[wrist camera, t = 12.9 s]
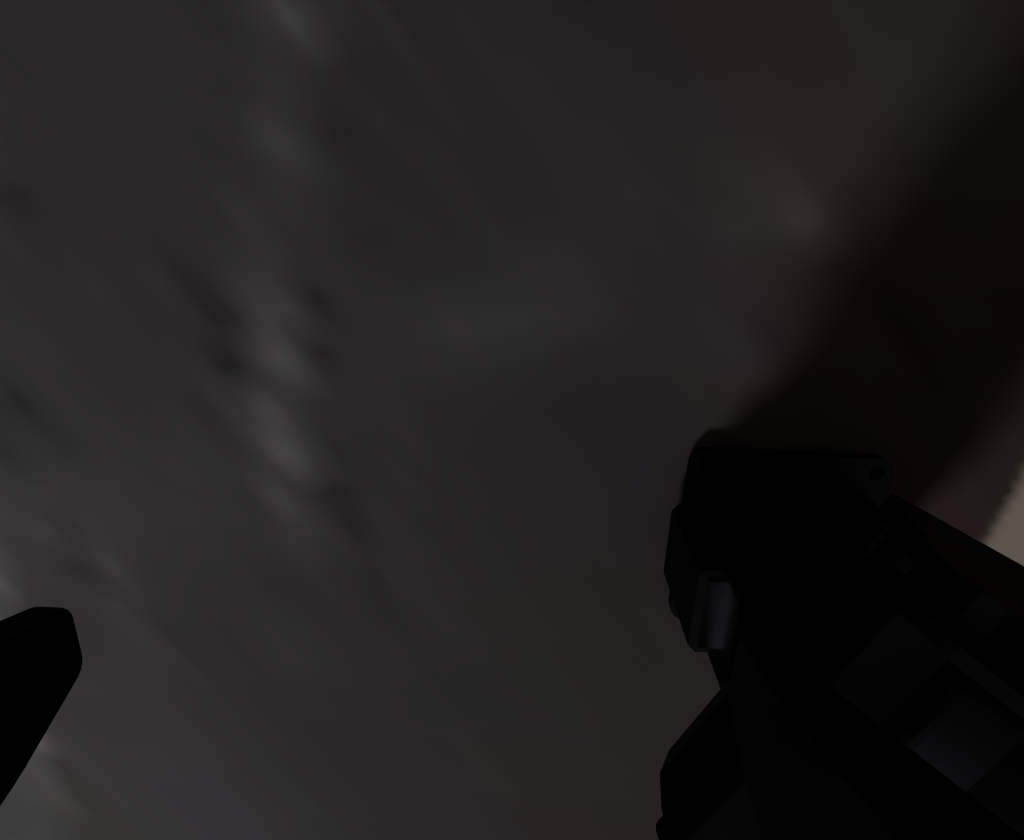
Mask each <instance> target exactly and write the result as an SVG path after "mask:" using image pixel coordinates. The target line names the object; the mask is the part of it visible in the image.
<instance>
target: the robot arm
mask: <svg viewBox="0 0 1024 840" xmlns="http://www.w3.org/2000/svg"><path fill="white" fill-rule="evenodd" d="M705 458H709V459H711V463H710V465H708V466H707V467H703V468H702V467H699V463H700V461H701V460H702V459H705ZM876 466H879V470H878V471H877V473H875V474H874V475H869V472H870V470H871V469H872V468H874V467H876ZM892 475H893V468H892V466H891V464H890V463H889V462H888V461H886V460H885V459H884V458H883V457H881V456H879V455H875V454H856V453H835V452H814V451H792V450H771V449H749V448H728V447H706V446H705V447H699V448H697V449H695V450H694V451H693V452H692V453H691V454H690V456H689V459H688V465H687V473H686V480H685V487H684V494H683V501H682V505H677V506H676V507H675V508H674V509H673V510H672V513H671V520H670V528H669V535H668V542H667V550H666V557H665V565H664V574H665V577H666V580H667V583H668V586H669V589H670V594H669V606H670V609H671V612H672V613H673V615H674V616H676V617H677V618H679V619H680V622H681V625H682V628H683V631H684V634H685V637H686V640H687V643H688V645H689V646H690V647H691V648H692V649H693V650H694V651H695V652H707V653H708V656H709V659H710V661H711V664H712V667H713V669H714V672H715V675H716V678H717V680H718V683H719V686H720V688H721V689H720V690H719V692H718V693H717V694H716V695H715V696H714V698H713V699H712V700H711V701H710V702H709V704H708V705H707V706H706V707H705V708H704V709H703V711H702V712H701V713H700V714H699V715H698V717H697V718H696V719H695V720H694V721H693V723H692V724H691V725H690V726H689V727H688V728H687V730H686V731H685V732H684V733H683V734H682V736H681V737H680V738H679V739H678V740H677V741H676V743H675V744H674V745H673V746H672V747H671V749H670V750H669V752H668V754H667V757H666V759H665V762H664V764H663V767H662V769H661V772H660V786H661V808H662V812H663V816H662V817H661V818H660V819H659V820H658V822H657V824H656V832H657V835H658V839H659V840H1024V566H1022V565H1021V564H1019V563H1017V562H1015V561H1013V560H1012V559H1010V558H1008V557H1006V556H1004V555H1003V554H1001V553H999V552H997V551H995V550H994V549H992V548H990V547H988V546H987V545H985V544H983V543H981V542H979V541H978V540H976V539H974V538H972V537H971V536H969V535H967V534H965V533H963V532H962V531H960V530H958V529H956V528H954V527H953V526H951V525H949V524H947V523H945V522H944V521H942V520H940V519H938V518H937V517H935V516H933V515H931V514H929V513H928V512H926V511H924V510H922V509H920V508H919V507H917V506H915V505H913V504H912V503H910V502H908V501H906V500H904V499H903V498H901V497H899V496H897V495H895V494H893V493H891V494H890V495H889V496H888V497H887V494H888V490H889V487H890V483H891V479H892ZM81 666H82V653H81V649H80V645H79V640H78V636H77V632H76V628H75V624H74V620H73V616H72V614H71V613H70V612H69V611H68V610H67V609H64V608H58V607H33V608H30V609H27V610H25V611H23V612H20V613H18V614H15V615H13V616H11V617H8V618H6V619H4V620H1V621H0V805H1V804H2V802H3V801H4V800H5V798H6V797H7V795H8V794H9V792H10V791H11V789H12V788H13V786H14V785H15V783H16V781H17V780H18V778H19V776H20V775H21V773H22V772H23V770H24V768H25V767H26V765H27V763H28V762H29V760H30V758H31V756H32V755H33V753H34V751H35V750H36V748H37V746H38V745H39V743H40V741H41V739H42V738H43V736H44V734H45V733H46V731H47V729H48V727H49V726H50V724H51V722H52V721H53V719H54V717H55V715H56V714H57V712H58V710H59V709H60V707H61V705H62V703H63V702H64V700H65V698H66V697H67V695H68V693H69V691H70V690H71V688H72V686H73V685H74V683H75V681H76V679H77V678H78V676H79V673H80V670H81Z"/></svg>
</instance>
